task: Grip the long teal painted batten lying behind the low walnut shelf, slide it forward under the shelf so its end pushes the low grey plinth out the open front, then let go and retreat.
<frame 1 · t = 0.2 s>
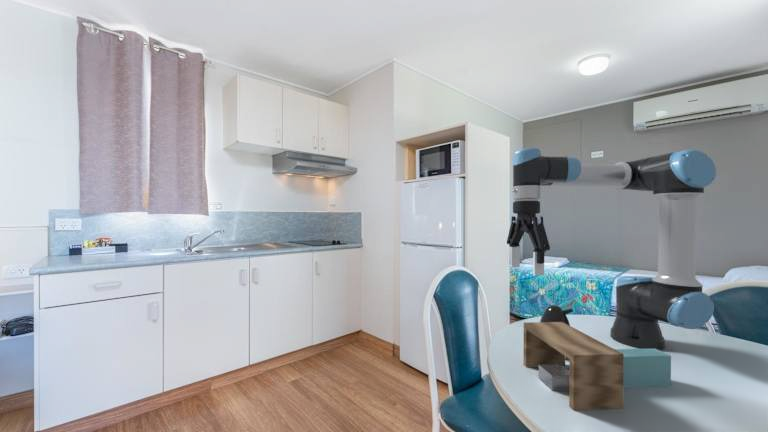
hand: (525, 270, 95), 28 cm above the table, fingers open, 13 cm apart
low grey plinth: (556, 384, 82), on the table
walnut shelf: (566, 383, 83), on the table
teal batten: (622, 382, 84), on the table
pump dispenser: (554, 352, 102), on the table
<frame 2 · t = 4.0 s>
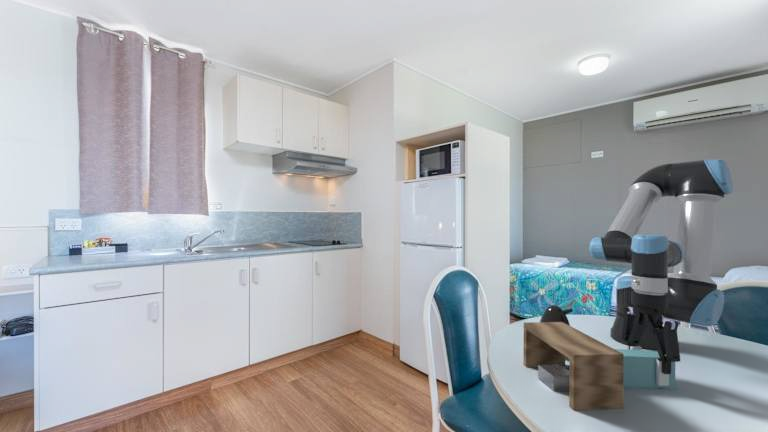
hand: (648, 376, 84), 1 cm above the table, fingers open, 7 cm apart
teal batten: (621, 382, 84), on the table, touching gripper
everything else where it was.
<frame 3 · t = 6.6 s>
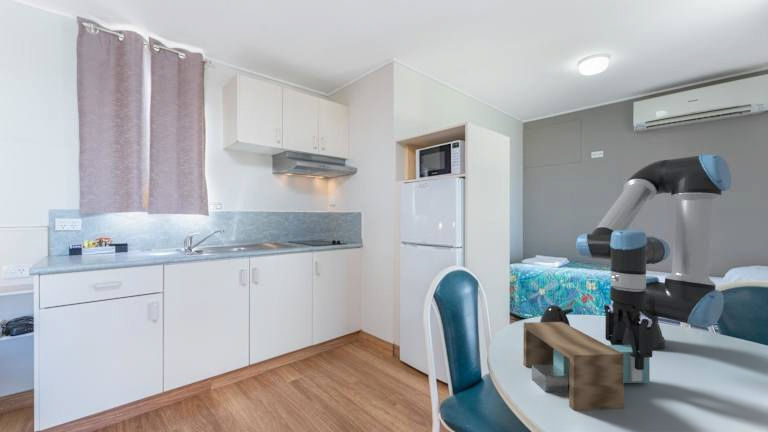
hand: (627, 375, 84), 2 cm above the table, fingers closed on teal batten, 5 cm apart
low grey plinth: (549, 385, 82), on the table
teal batten: (600, 378, 84), point 1 cm above the table, touching gripper
everything else where it was.
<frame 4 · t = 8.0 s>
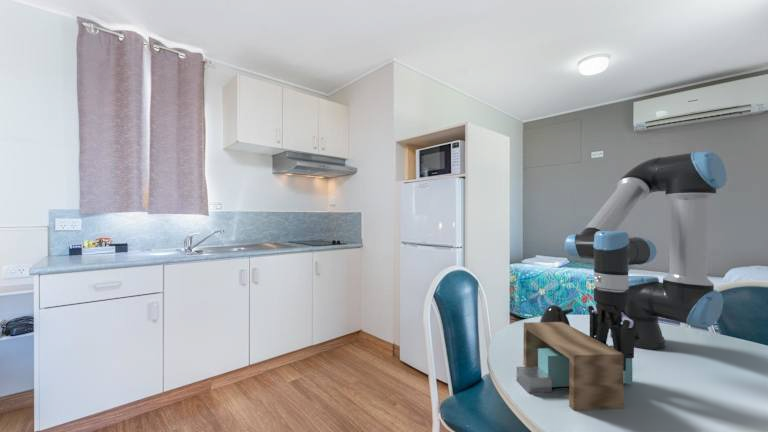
hand: (610, 376, 84), 2 cm above the table, fingers closed on teal batten, 4 cm apart
low grey plinth: (533, 387, 81), on the table
teal batten: (584, 380, 83), point 1 cm above the table, touching gripper
everything else where it was.
when the fingers open (2 cm above the table, at t = 8.9 s): teal batten stays where it is, on the table.
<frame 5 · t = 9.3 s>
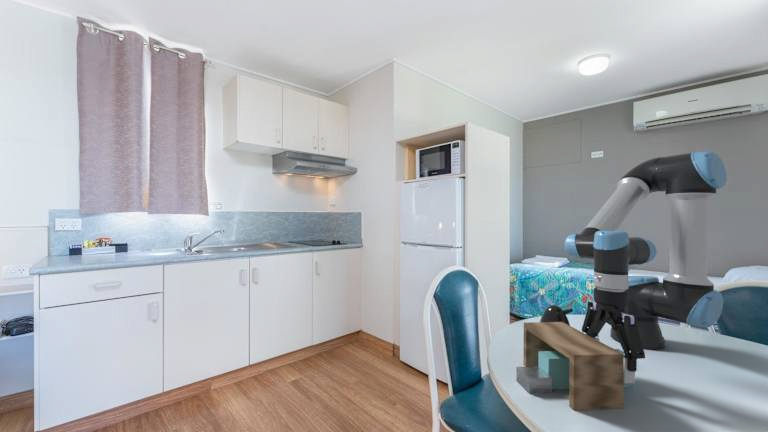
hand: (609, 371, 84), 3 cm above the table, fingers open, 11 cm apart
teal batten: (584, 383, 83), on the table
everything else where it was.
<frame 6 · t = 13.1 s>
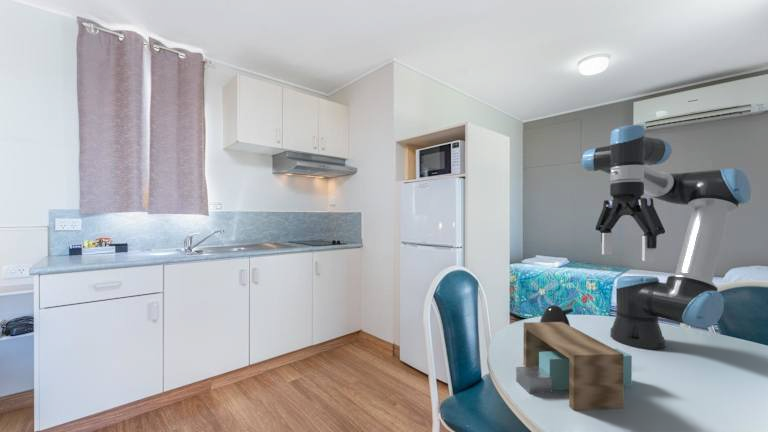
hand: (626, 257, 88), 33 cm above the table, fingers open, 13 cm apart
nothing on the table moved.
at the end: low grey plinth inside the target area (2.2 cm from its centre), on the table; low grey plinth moved 6.7 cm from its start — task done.
